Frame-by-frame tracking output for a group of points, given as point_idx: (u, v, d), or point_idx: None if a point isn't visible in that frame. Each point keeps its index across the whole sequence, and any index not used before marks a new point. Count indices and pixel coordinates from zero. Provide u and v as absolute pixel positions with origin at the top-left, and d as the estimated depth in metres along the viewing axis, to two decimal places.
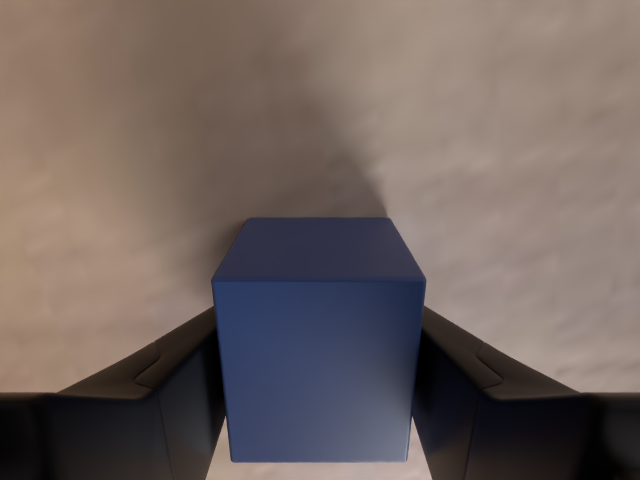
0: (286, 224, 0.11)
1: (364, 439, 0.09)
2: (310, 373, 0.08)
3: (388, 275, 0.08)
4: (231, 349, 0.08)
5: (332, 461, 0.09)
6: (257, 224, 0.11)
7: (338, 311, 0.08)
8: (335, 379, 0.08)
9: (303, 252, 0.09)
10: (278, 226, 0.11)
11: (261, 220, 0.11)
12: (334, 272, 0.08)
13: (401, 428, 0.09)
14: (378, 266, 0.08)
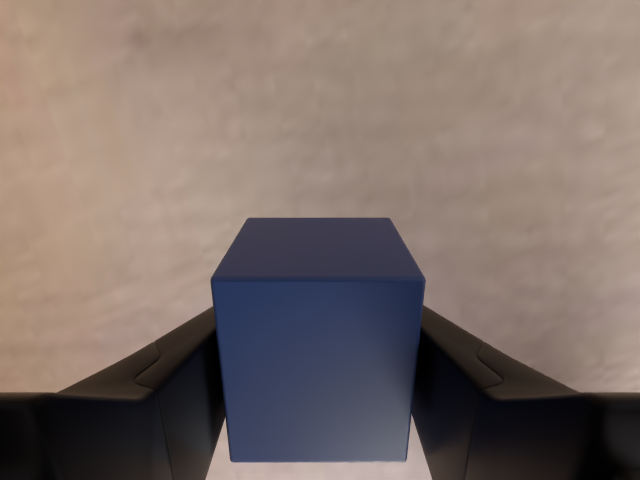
0: (285, 224, 0.11)
1: (364, 439, 0.09)
2: (309, 373, 0.08)
3: (387, 275, 0.08)
4: (230, 349, 0.08)
5: (331, 461, 0.09)
6: (257, 224, 0.11)
7: (338, 311, 0.08)
8: (335, 379, 0.08)
9: (302, 252, 0.09)
10: (278, 226, 0.11)
11: (261, 220, 0.11)
12: (333, 271, 0.08)
13: (400, 428, 0.09)
14: (377, 265, 0.08)
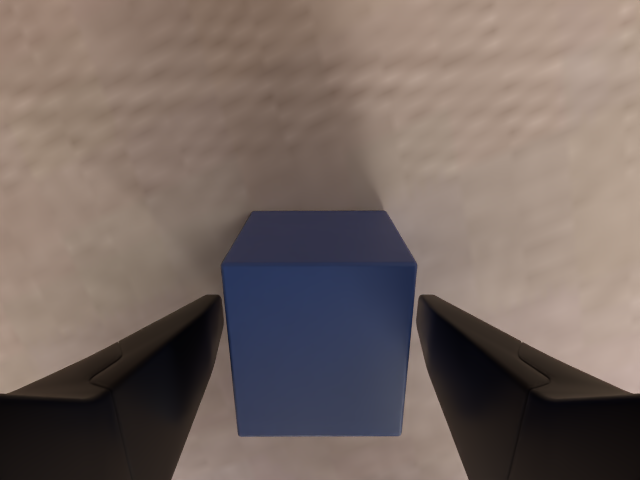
0: (288, 216, 0.12)
1: (361, 414, 0.10)
2: (312, 352, 0.09)
3: (382, 260, 0.08)
4: (239, 329, 0.09)
5: (332, 435, 0.10)
6: (261, 217, 0.12)
7: (337, 294, 0.09)
8: (335, 357, 0.09)
9: (304, 241, 0.10)
10: (281, 218, 0.11)
11: (264, 213, 0.12)
12: (333, 257, 0.09)
13: (395, 403, 0.10)
14: (373, 253, 0.09)
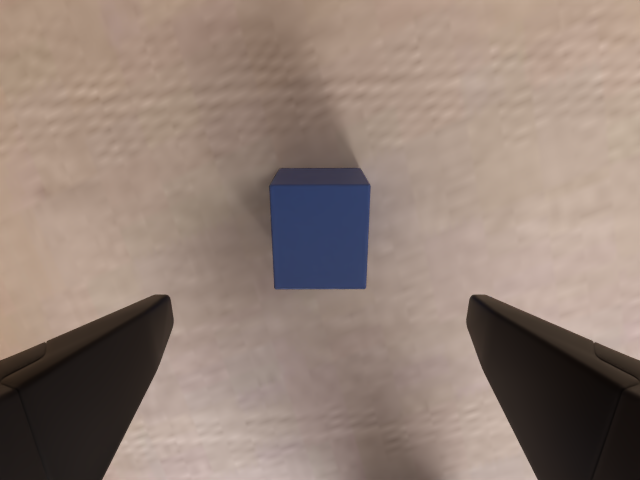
0: (301, 170, 0.19)
1: (343, 274, 0.18)
2: (316, 235, 0.17)
3: (352, 183, 0.16)
4: (277, 222, 0.17)
5: (327, 288, 0.18)
6: (285, 170, 0.19)
7: (329, 201, 0.16)
8: (328, 239, 0.17)
9: (311, 178, 0.17)
10: (297, 170, 0.19)
11: (287, 169, 0.20)
12: (327, 183, 0.16)
13: (362, 267, 0.17)
14: (348, 181, 0.17)
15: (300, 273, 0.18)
